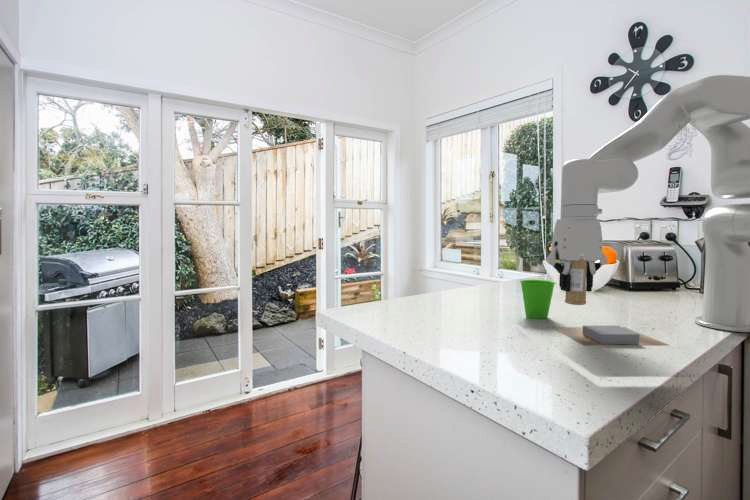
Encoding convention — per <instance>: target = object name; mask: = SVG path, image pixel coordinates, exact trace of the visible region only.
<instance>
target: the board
mask: <svg viewBox="0 0 750 500" xmlns="http://www.w3.org/2000/svg"><path fill="white" fill-rule="evenodd" d="M621 327H622V326H621ZM622 328H625V329H627V330H630V331H632V332H635V333H637V334H640V336H639V344H601V343H599V342H597V341H595V340H593V339H591V338H589V337H587V336H585V335H583V326H582V327H579V326H576V327H575V326H573V327H571V326H569V327H568V326H567V327H566V326H565V327H561V326H559V327H557V326H553V327H552V329H554V330H556V331H557V332H559V333H561V334H563V335H564V336H566V337H568V338H569V339H572V340H573V341H576V342H577V343H579V344H581V345H582V346H670V344H668V343H666V342H663V341H661V340H659V339H656V338H652V337H651V336H649V335H645V334H643V333H641V332H638V331H635V330H633V329H631V328H627V327H625V326H623V327H622Z"/></svg>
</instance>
